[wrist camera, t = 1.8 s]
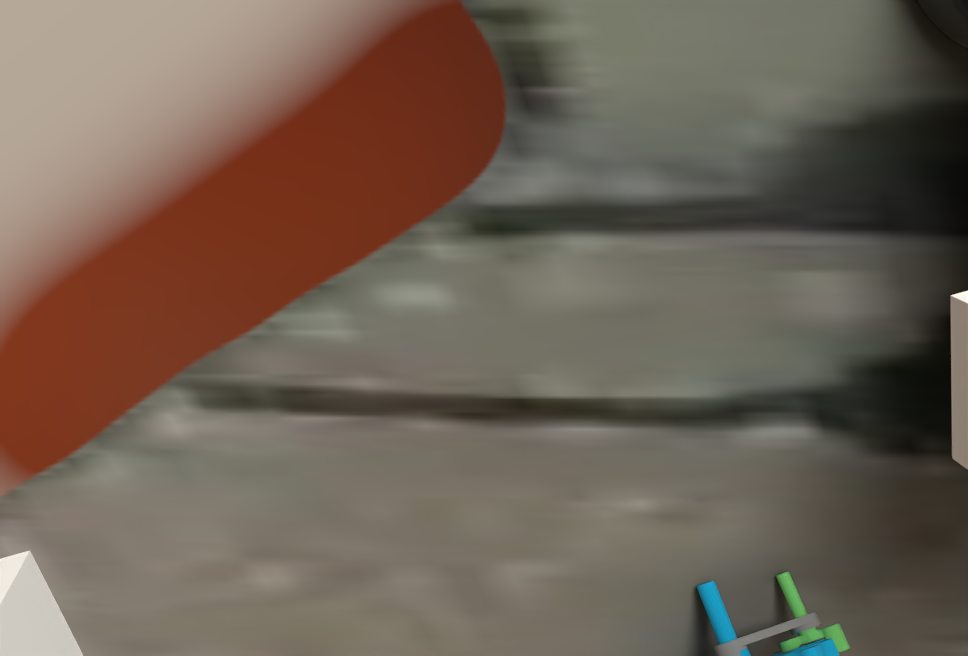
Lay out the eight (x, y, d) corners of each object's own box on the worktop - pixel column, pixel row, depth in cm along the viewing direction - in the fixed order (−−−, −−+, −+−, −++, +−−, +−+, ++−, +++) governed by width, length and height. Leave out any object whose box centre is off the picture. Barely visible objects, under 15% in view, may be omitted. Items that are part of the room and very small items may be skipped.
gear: (635, 729, 48) (698, 726, 39) (599, 622, 50) (650, 596, 41) (806, 668, 51) (901, 651, 42) (763, 569, 53) (845, 533, 44)
